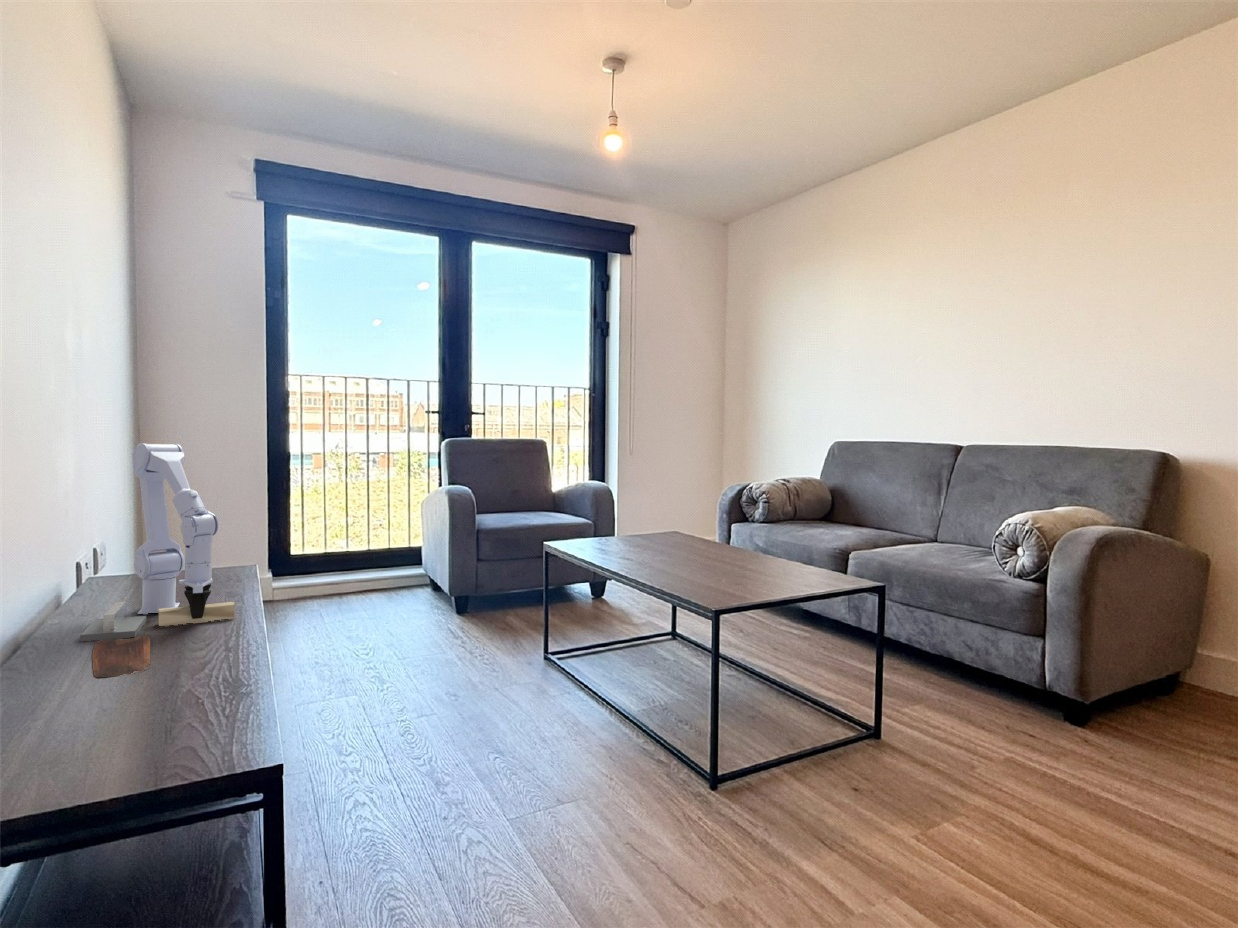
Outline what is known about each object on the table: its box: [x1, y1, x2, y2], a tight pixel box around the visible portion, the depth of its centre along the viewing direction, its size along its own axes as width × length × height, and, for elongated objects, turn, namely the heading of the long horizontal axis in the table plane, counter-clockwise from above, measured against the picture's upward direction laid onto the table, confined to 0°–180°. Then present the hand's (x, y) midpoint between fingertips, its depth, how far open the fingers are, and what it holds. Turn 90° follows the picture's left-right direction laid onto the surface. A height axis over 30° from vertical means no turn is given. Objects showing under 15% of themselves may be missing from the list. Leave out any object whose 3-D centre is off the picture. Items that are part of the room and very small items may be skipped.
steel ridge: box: [102, 601, 128, 633], centre depth 156 cm, size 13×2×4 cm, turn 27°
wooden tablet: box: [92, 634, 151, 678], centre depth 139 cm, size 26×2×10 cm
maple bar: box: [157, 601, 236, 627], centre depth 167 cm, size 3×16×4 cm, turn 127°
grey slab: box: [79, 615, 147, 642], centre depth 156 cm, size 14×10×2 cm
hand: (197, 615), depth 167 cm, fingers open, 5 cm apart
